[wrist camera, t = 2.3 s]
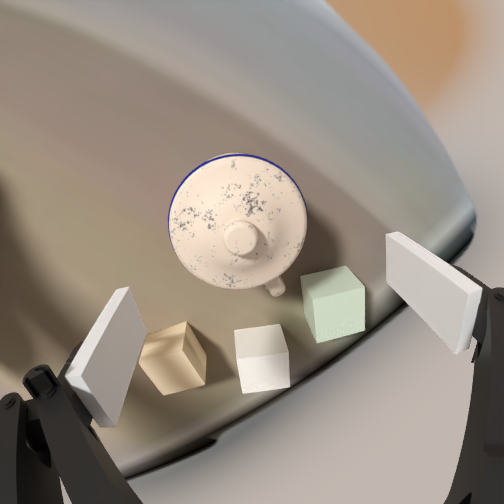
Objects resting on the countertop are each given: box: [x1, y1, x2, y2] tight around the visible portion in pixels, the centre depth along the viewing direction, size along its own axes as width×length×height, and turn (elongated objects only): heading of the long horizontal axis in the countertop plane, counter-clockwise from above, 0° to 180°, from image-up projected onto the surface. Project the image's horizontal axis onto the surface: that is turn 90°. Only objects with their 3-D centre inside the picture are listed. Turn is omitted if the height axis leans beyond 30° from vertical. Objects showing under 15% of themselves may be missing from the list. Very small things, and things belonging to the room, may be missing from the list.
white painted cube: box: [234, 324, 290, 394], centre depth 31 cm, size 5×5×5 cm
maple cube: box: [139, 322, 207, 396], centre depth 31 cm, size 5×5×5 cm
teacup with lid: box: [168, 153, 308, 297], centre depth 23 cm, size 12×9×12 cm
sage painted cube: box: [300, 266, 365, 343], centre depth 30 cm, size 5×5×5 cm
